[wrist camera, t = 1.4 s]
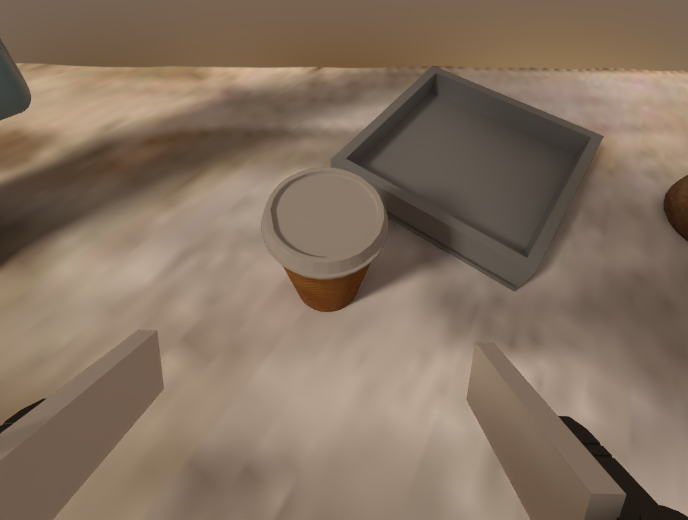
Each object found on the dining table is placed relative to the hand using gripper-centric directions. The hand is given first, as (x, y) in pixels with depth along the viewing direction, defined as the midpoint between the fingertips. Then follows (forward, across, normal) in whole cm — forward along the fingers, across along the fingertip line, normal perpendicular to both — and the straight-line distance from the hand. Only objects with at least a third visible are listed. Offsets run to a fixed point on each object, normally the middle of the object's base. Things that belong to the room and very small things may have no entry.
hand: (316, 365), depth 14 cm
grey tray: (+32, +16, +8) cm, 37 cm away
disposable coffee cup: (+20, -1, -3) cm, 21 cm away
